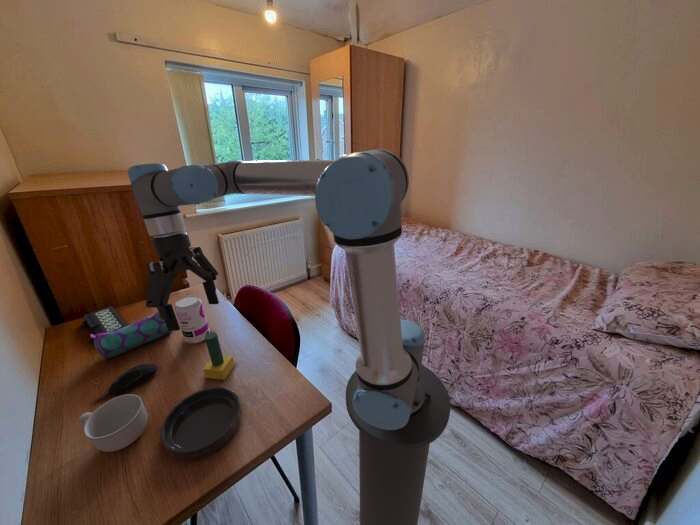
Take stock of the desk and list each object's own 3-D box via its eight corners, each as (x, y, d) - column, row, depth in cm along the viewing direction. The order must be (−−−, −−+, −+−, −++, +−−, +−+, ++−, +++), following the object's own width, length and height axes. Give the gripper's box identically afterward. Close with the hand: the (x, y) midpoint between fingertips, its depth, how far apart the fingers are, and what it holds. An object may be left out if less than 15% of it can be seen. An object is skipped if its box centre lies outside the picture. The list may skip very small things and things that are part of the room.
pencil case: (167, 324, 108) (160, 303, 104) (176, 334, 103) (169, 312, 99) (99, 354, 94) (87, 331, 90) (105, 367, 89) (92, 343, 85)
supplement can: (211, 327, 106) (201, 292, 100) (209, 341, 99) (199, 304, 93) (186, 332, 104) (175, 297, 97) (183, 347, 97) (171, 310, 90)
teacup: (162, 420, 72) (152, 397, 69) (123, 464, 62) (110, 441, 59) (117, 410, 75) (105, 388, 71) (73, 452, 65) (57, 429, 62)
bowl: (253, 399, 77) (251, 390, 75) (217, 467, 61) (214, 457, 60) (195, 393, 79) (192, 384, 78) (147, 456, 64) (141, 446, 62)
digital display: (78, 315, 109) (110, 305, 116) (81, 322, 110) (113, 311, 117) (91, 338, 97) (126, 324, 104) (95, 346, 98) (129, 332, 105)
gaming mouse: (93, 395, 79) (88, 385, 77) (152, 364, 90) (148, 354, 88) (100, 407, 76) (94, 397, 74) (161, 373, 86) (157, 363, 84)
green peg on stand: (234, 364, 89) (226, 329, 83) (224, 379, 83) (214, 343, 78) (217, 363, 90) (207, 328, 84) (205, 377, 84) (194, 341, 79)
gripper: (195, 225, 79) (216, 295, 85) (101, 250, 56) (139, 343, 62) (217, 222, 77) (238, 294, 83) (130, 247, 54) (166, 344, 60)
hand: (196, 315), depth 72 cm, fingers open, 13 cm apart
